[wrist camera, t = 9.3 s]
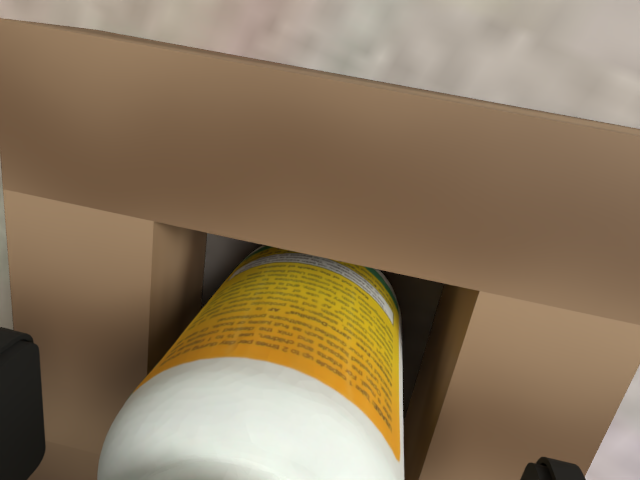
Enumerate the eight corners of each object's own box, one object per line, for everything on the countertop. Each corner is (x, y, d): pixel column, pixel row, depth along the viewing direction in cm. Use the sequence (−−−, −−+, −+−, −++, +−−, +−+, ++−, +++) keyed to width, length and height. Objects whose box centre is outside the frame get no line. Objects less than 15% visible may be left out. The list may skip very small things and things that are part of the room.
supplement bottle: (407, 386, 15) (423, 865, 6) (242, 387, 16) (46, 802, 7) (395, 221, 13) (393, 553, 4) (211, 234, 14) (-106, 525, 5)
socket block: (94, 29, 13) (-10, 17, 9) (644, 129, 11) (741, 154, 8) (96, 439, 18) (28, 525, 14) (477, 537, 17) (498, 652, 13)
